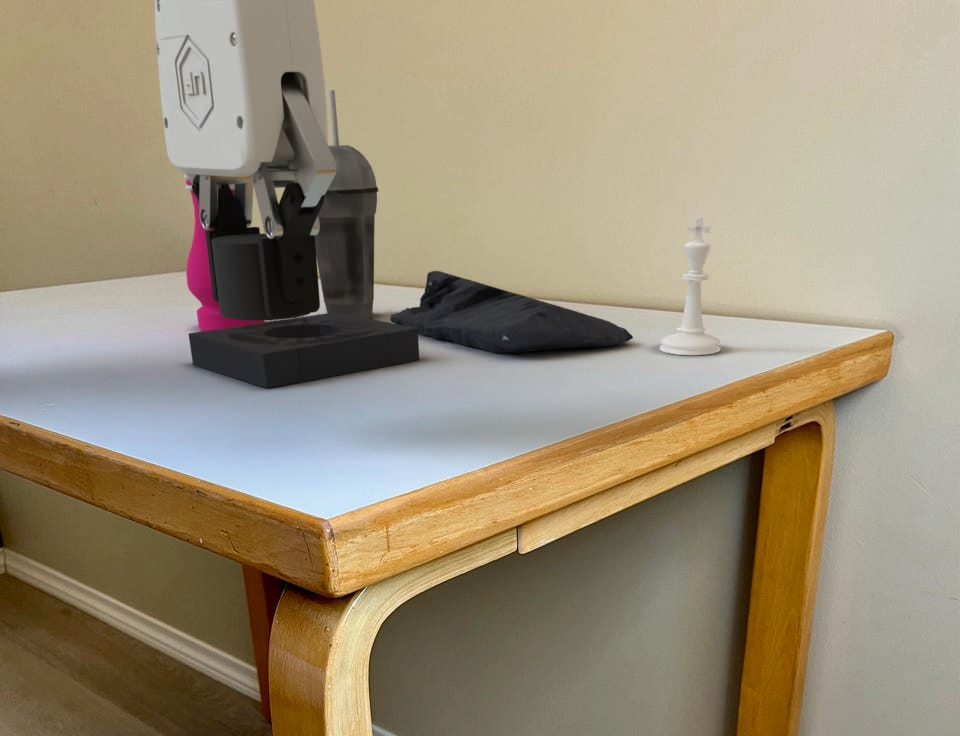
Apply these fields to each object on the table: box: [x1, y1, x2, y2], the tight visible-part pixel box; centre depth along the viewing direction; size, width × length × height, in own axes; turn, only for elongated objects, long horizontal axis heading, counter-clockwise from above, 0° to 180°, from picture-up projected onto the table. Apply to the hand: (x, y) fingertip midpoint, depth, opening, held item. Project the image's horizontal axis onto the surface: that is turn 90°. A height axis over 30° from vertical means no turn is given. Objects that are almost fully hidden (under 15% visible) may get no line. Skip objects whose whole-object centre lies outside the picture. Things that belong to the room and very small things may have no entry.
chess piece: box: [659, 216, 722, 356], centre depth 80 cm, size 5×5×10 cm
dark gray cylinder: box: [211, 233, 311, 321], centre depth 57 cm, size 5×5×4 cm
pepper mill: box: [183, 173, 266, 331], centre depth 93 cm, size 7×7×20 cm
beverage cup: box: [315, 89, 379, 319], centre depth 96 cm, size 7×7×20 cm
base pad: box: [188, 312, 420, 389], centre depth 81 cm, size 14×12×2 cm
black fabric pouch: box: [389, 270, 634, 354], centre depth 89 cm, size 15×22×5 cm
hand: (265, 304), depth 57 cm, fingers closed on dark gray cylinder, 5 cm apart
